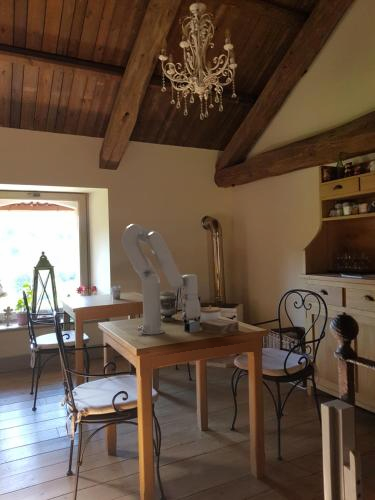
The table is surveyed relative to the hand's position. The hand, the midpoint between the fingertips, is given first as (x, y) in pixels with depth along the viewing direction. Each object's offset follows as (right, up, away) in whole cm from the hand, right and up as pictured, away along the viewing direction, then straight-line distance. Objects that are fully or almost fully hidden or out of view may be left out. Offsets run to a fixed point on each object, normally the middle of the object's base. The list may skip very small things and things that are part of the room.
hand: (191, 329), depth 210 cm
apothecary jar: (-14, -1, +32) cm, 35 cm away
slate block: (0, -1, 0) cm, 1 cm away
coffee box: (+1, 0, +20) cm, 20 cm away
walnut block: (+16, -1, -2) cm, 16 cm away
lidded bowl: (+11, 0, +16) cm, 20 cm away
